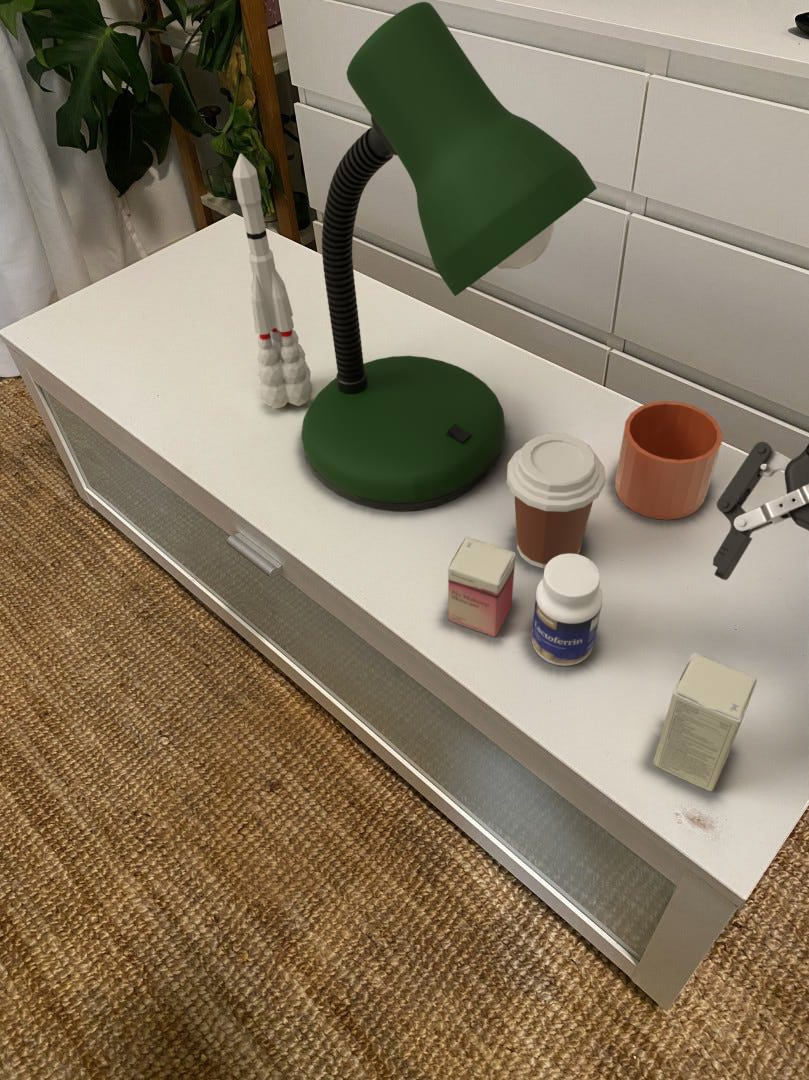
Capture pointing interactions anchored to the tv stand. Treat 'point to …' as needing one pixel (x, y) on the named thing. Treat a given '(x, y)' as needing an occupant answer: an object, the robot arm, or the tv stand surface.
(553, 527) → the coffee cup
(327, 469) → the desk lamp
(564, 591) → the pill bottle
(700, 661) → the box
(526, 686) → the tv stand surface
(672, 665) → the tv stand surface
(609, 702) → the tv stand surface
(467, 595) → the small box
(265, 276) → the rocket model
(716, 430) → the terracotta plant pot
